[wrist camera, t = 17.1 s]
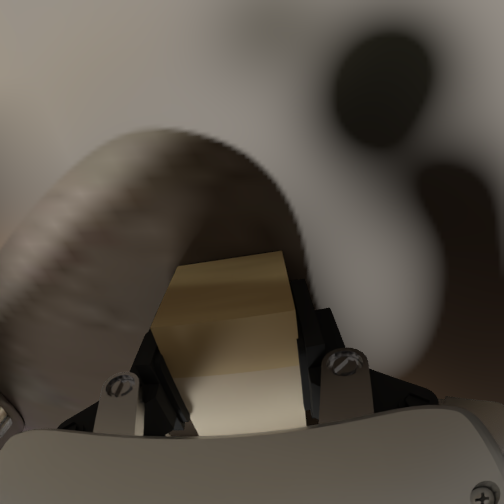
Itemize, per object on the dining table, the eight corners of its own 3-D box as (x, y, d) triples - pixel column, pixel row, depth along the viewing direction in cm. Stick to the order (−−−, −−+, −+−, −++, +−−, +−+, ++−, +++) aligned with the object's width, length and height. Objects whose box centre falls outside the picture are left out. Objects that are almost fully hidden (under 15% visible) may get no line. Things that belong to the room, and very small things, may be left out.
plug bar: (303, 443, 17) (310, 497, 13) (239, 450, 17) (238, 504, 13) (281, 250, 12) (295, 310, 8) (177, 266, 12) (150, 327, 8)
